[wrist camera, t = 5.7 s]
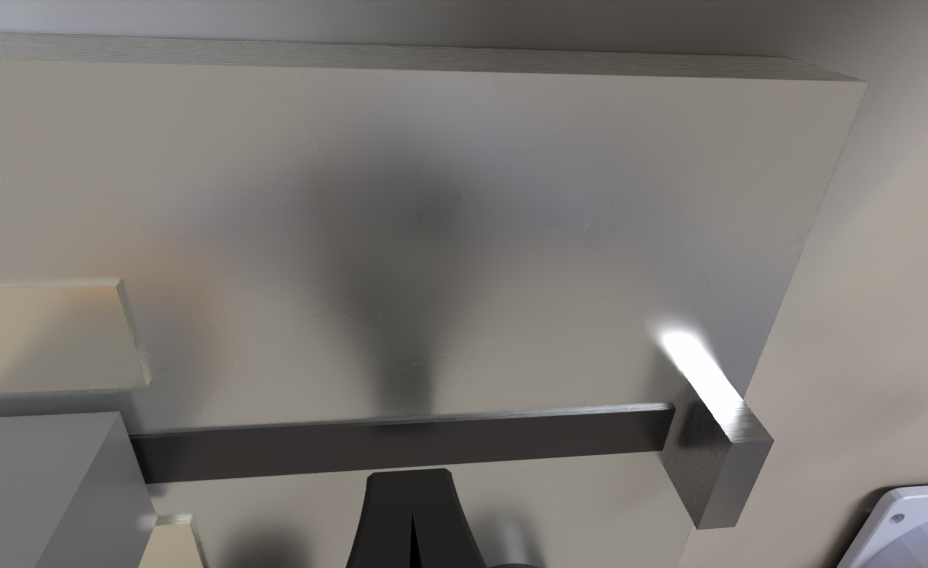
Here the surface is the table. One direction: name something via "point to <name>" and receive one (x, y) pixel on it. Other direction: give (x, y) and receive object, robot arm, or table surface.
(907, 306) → the table surface
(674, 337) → the console
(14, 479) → the fader tab
